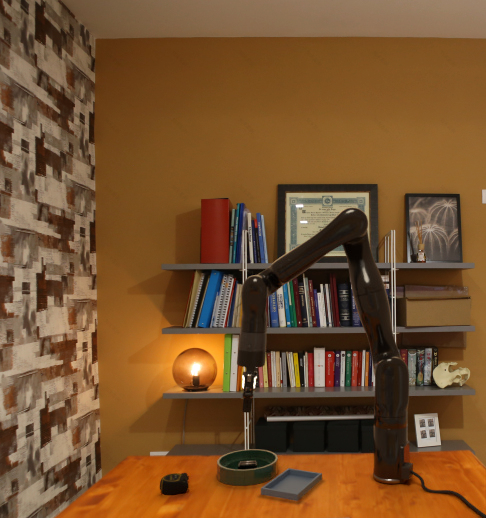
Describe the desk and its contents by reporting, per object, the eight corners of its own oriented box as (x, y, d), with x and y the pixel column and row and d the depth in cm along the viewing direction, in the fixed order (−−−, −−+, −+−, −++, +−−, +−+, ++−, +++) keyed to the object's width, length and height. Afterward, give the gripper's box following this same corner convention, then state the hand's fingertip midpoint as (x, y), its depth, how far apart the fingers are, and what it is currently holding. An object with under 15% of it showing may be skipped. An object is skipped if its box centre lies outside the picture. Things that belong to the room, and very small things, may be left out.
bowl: (287, 469, 140) (288, 453, 140) (257, 492, 124) (257, 473, 125) (239, 462, 145) (239, 446, 145) (204, 482, 130) (204, 465, 130)
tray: (322, 481, 132) (322, 473, 132) (297, 503, 118) (297, 494, 118) (288, 475, 135) (288, 468, 135) (260, 496, 122) (260, 488, 122)
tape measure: (188, 496, 122) (188, 480, 122) (158, 499, 120) (158, 483, 120) (188, 485, 128) (189, 470, 129) (160, 488, 126) (161, 473, 126)
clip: (257, 471, 136) (257, 460, 137) (256, 474, 134) (256, 463, 134) (238, 472, 136) (238, 461, 136) (237, 475, 133) (238, 464, 133)
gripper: (266, 352, 128) (260, 415, 127) (266, 345, 142) (261, 402, 141) (236, 351, 127) (231, 414, 126) (239, 344, 141) (234, 401, 140)
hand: (247, 408), depth 134 cm, fingers open, 8 cm apart
